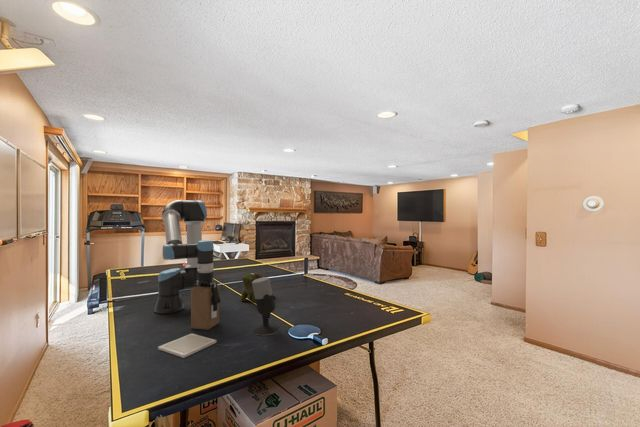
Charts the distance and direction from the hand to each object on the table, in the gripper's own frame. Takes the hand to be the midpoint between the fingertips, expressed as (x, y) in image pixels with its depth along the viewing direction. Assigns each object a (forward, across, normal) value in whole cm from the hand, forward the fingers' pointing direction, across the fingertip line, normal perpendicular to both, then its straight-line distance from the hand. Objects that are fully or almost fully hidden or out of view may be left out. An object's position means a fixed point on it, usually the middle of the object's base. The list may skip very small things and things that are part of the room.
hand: (205, 315), depth 147 cm
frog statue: (+5, -12, +48) cm, 50 cm away
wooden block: (+5, 0, 0) cm, 5 cm away
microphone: (+5, +30, +10) cm, 32 cm away
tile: (+5, +12, -19) cm, 23 cm away
